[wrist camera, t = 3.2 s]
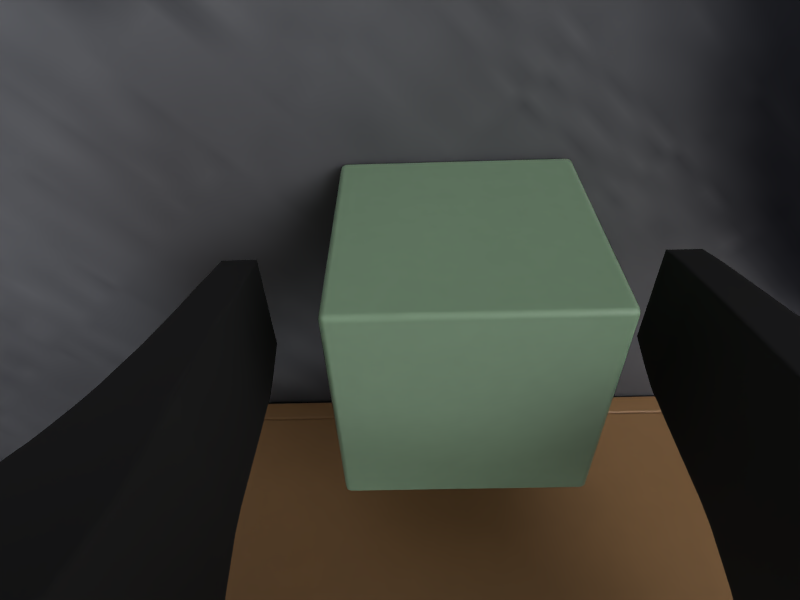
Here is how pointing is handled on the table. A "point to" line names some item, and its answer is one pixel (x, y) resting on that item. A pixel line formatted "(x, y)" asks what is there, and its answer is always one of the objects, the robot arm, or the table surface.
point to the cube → (470, 325)
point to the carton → (473, 525)
